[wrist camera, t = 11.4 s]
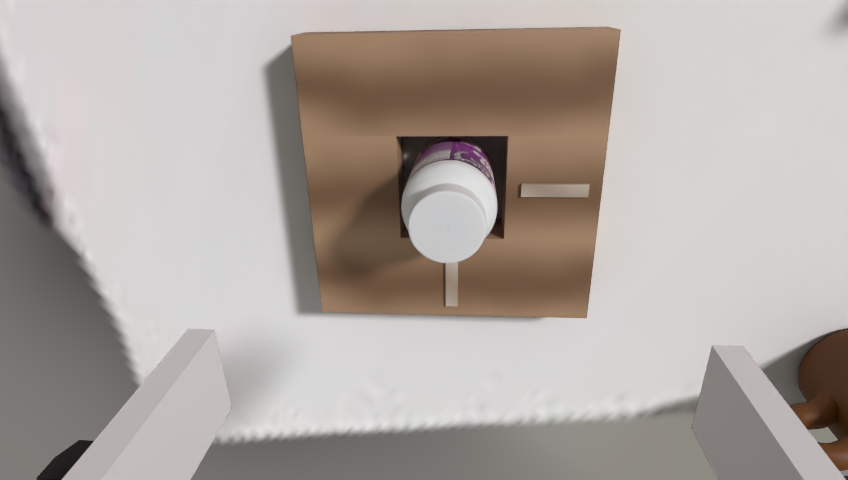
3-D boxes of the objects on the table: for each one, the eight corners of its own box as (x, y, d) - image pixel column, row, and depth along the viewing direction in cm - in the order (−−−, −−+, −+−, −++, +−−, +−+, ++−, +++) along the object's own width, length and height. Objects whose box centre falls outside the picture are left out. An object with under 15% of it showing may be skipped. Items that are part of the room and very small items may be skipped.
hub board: (305, 32, 33) (289, 35, 30) (607, 26, 32) (621, 29, 29) (332, 290, 40) (321, 313, 37) (578, 295, 39) (587, 319, 36)
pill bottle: (508, 183, 36) (521, 243, 27) (443, 224, 37) (435, 294, 29) (463, 116, 34) (461, 157, 26) (396, 162, 36) (373, 215, 27)
